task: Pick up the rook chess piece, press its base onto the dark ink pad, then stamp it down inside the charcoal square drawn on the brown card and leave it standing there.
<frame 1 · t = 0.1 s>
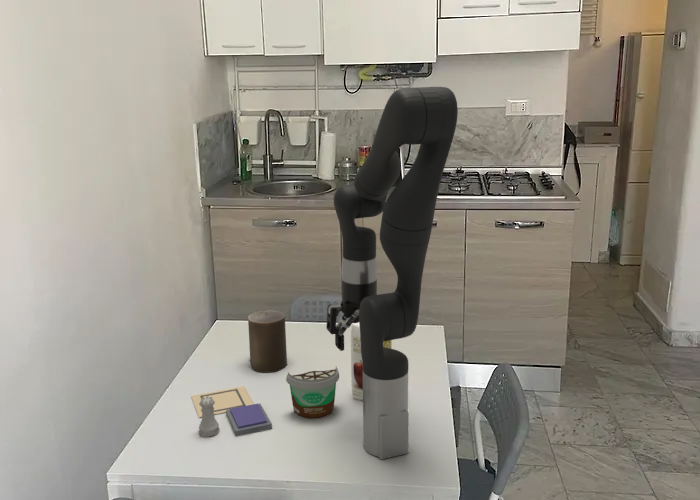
hand: (359, 346, 150), 17 cm above the table, tool pointing down, fingers open, 8 cm apart
rook chess piece: (209, 432, 149), on the table
pillar candle: (268, 365, 181), on the table
ink pad: (248, 421, 153), on the table
marked card: (222, 401, 162), on the table
food container: (316, 415, 156), on the table
juice carton: (371, 397, 164), on the table
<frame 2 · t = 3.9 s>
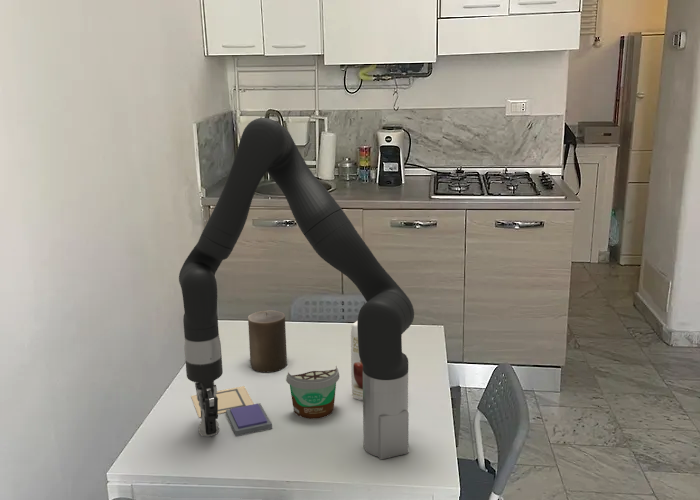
hand: (208, 427, 149), 1 cm above the table, tool pointing down, fingers closed on rook chess piece, 4 cm apart
rook chess piece: (209, 432, 149), on the table, touching gripper
everything else where it was.
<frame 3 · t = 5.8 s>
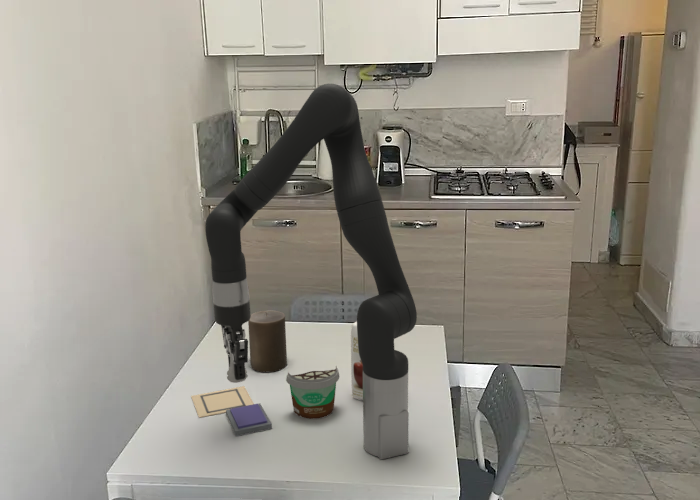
hand: (237, 373, 148), 13 cm above the table, tool pointing down, fingers closed on rook chess piece, 4 cm apart
rook chess piece: (237, 379, 148), point 11 cm above the table, touching gripper
everything else where it was.
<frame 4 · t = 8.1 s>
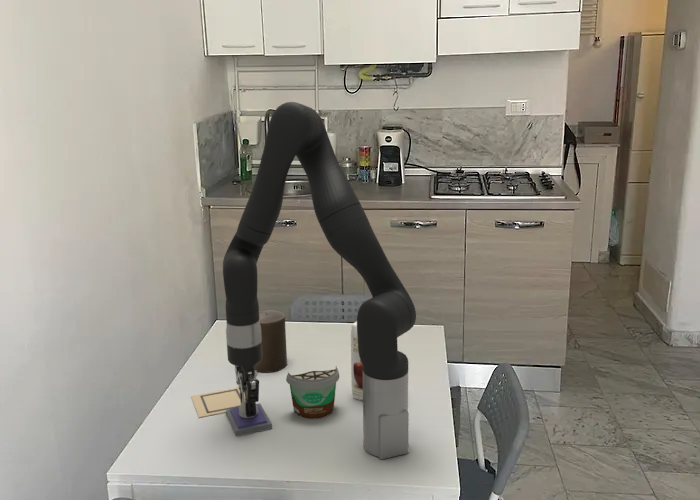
hand: (248, 410, 152), 3 cm above the table, tool pointing down, fingers closed on rook chess piece, 4 cm apart
rook chess piece: (248, 415, 153), point 1 cm above the table, touching gripper, ink pad
everything else where it was.
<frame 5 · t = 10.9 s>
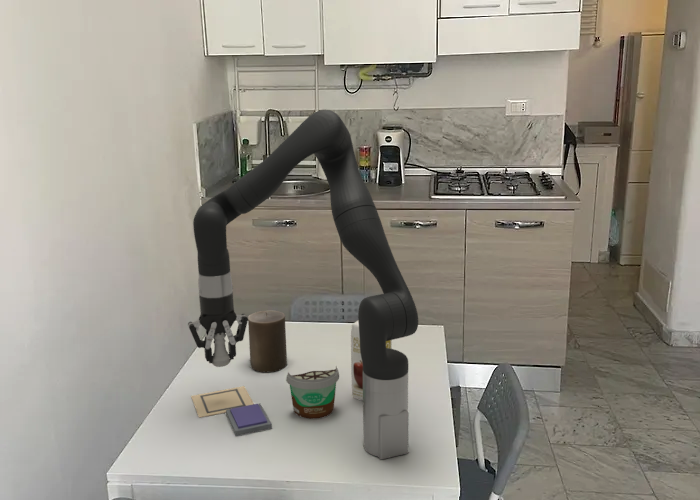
hand: (220, 359, 159), 11 cm above the table, tool pointing down, fingers closed on rook chess piece, 4 cm apart
rook chess piece: (221, 364, 160), point 10 cm above the table, touching gripper
everything else where it was.
when the fingers open (1 cm above the table, at t = 12.6 s): rook chess piece stays where it is, resting on marked card.
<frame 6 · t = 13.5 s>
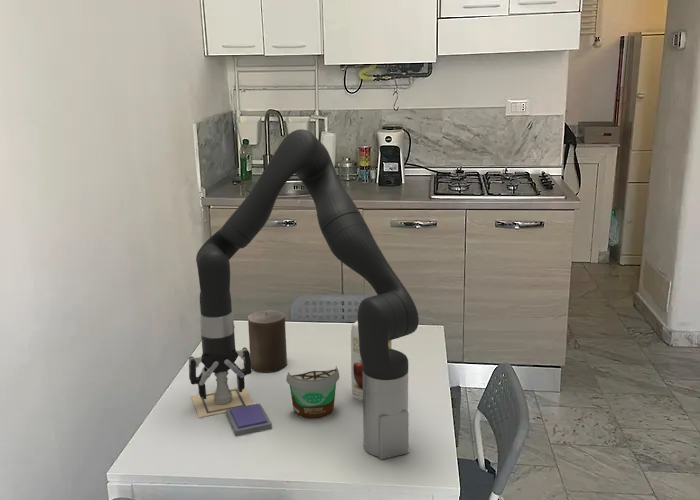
hand: (222, 394, 162), 2 cm above the table, tool pointing down, fingers open, 8 cm apart
rook chess piece: (223, 401, 162), resting on marked card
everything else where it was.
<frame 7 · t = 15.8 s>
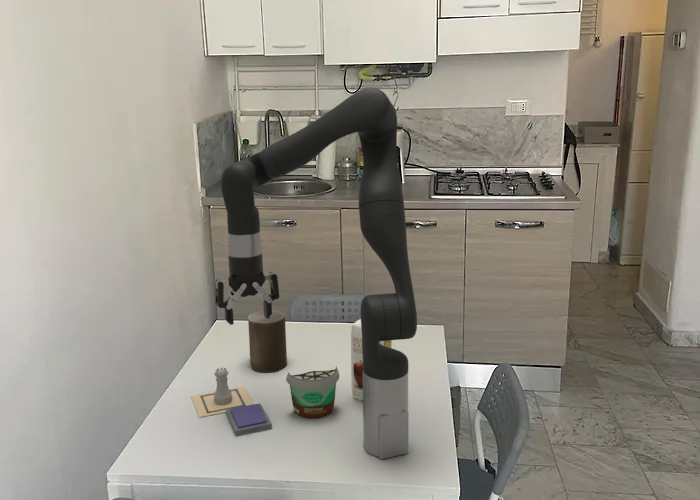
hand: (248, 320, 156), 21 cm above the table, tool pointing down, fingers open, 8 cm apart
nothing on the table moved.
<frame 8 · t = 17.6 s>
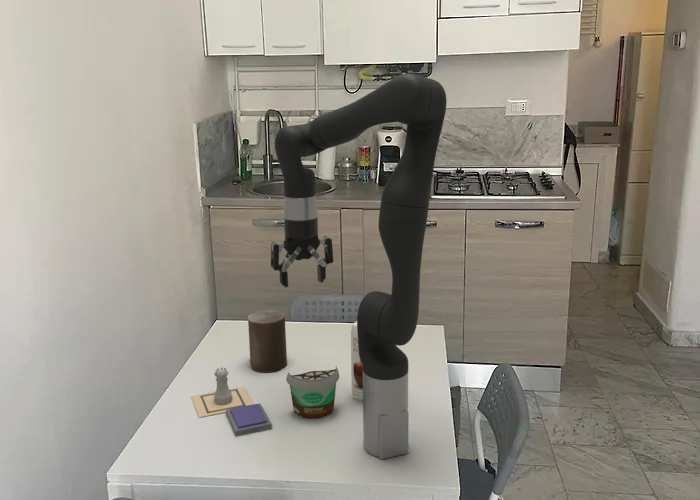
hand: (303, 283, 157), 28 cm above the table, tool pointing down, fingers open, 8 cm apart
nothing on the table moved.
at the end: rook chess piece 0.2 cm off-centre on the marked card, point 0.0 cm above the marked card's base; rook chess piece tilted 0°; the gripper is holding nothing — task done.
